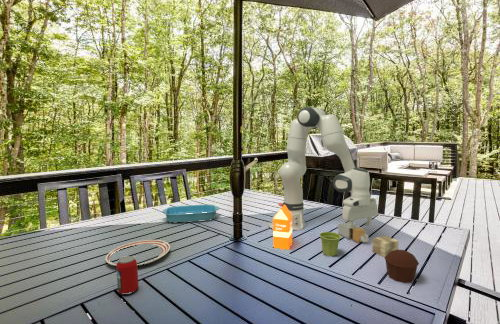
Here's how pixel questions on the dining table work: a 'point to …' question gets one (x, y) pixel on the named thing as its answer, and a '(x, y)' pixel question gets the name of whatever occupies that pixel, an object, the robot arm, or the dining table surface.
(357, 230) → the tube
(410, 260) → the muffin
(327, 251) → the plant pot
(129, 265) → the beverage can
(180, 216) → the casserole dish
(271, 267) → the dining table surface
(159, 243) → the beige round ring
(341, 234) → the outer sleeve
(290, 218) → the orange juice
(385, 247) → the socket block
